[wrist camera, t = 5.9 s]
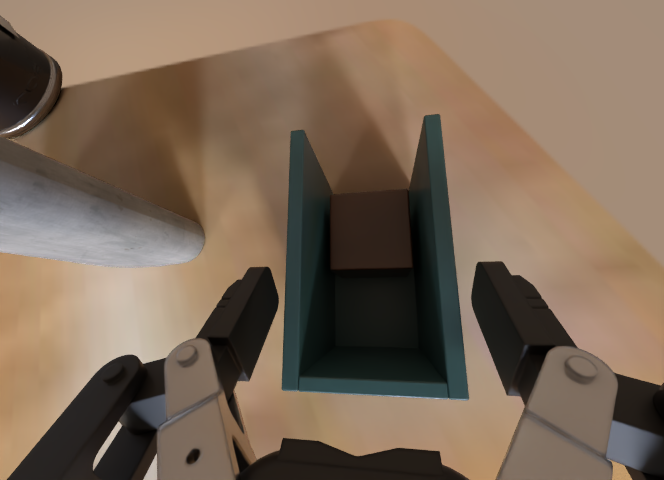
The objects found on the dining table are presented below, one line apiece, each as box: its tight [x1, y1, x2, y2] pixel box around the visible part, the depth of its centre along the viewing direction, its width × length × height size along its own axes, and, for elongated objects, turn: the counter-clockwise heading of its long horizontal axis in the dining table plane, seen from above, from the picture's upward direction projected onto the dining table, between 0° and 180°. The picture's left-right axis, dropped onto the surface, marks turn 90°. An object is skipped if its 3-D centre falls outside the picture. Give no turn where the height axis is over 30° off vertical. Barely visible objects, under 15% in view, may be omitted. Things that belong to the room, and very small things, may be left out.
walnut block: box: [330, 189, 414, 278], centre depth 16 cm, size 4×4×4 cm
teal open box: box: [282, 114, 469, 400], centre depth 14 cm, size 10×6×8 cm, turn 0°
